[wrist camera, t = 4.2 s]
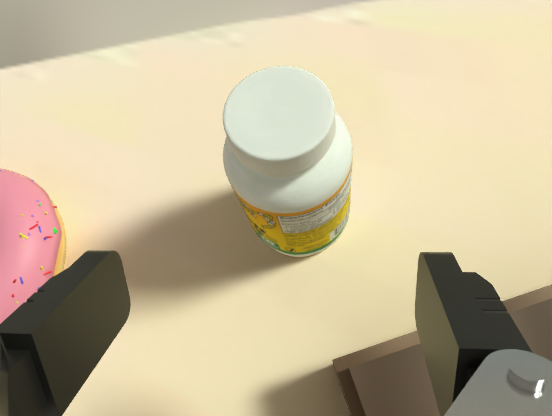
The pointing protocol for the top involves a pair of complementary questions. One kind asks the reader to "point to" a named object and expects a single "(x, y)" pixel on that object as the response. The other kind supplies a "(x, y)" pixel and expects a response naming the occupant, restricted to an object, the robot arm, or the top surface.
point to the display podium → (412, 366)
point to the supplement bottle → (288, 159)
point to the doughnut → (27, 240)
